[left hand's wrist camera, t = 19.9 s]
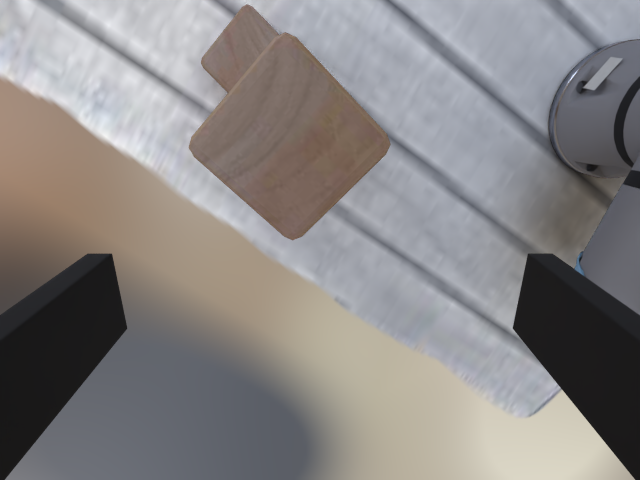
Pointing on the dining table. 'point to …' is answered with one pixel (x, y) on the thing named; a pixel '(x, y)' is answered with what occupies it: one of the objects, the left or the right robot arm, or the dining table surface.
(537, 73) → the dining table surface
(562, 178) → the dining table surface
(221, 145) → the decorative block
